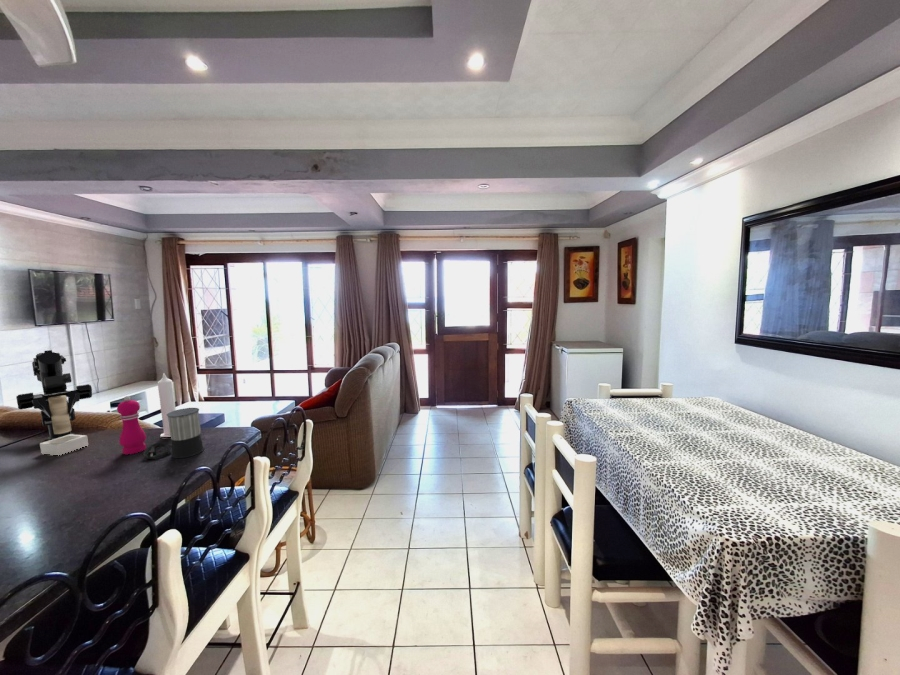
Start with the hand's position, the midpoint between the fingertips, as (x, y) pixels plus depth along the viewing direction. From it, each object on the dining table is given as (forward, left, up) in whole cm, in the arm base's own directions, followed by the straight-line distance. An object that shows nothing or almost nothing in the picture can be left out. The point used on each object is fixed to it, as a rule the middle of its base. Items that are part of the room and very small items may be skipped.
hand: (60, 415), depth 132 cm
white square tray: (-1, +1, -13) cm, 13 cm away
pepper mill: (+27, +5, -14) cm, 30 cm away
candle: (+25, +20, -14) cm, 34 cm away
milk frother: (+45, +5, -14) cm, 47 cm away
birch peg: (-1, +1, -7) cm, 7 cm away
